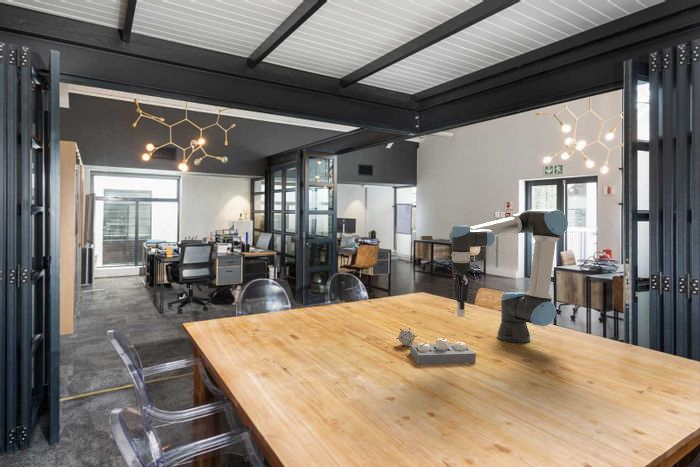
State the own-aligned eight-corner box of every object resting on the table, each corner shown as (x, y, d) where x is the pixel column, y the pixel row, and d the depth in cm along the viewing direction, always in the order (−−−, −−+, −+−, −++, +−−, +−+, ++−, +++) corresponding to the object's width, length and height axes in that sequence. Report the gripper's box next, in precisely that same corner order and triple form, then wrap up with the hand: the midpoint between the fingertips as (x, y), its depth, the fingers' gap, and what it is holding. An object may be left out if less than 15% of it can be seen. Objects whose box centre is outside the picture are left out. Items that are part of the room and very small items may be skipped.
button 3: (427, 354, 173) (427, 342, 173) (431, 358, 168) (431, 346, 168) (416, 354, 173) (416, 342, 173) (419, 358, 168) (419, 346, 168)
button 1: (463, 352, 175) (463, 341, 175) (467, 356, 170) (467, 344, 170) (452, 353, 175) (452, 341, 174) (456, 357, 170) (456, 345, 169)
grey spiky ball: (409, 354, 187) (415, 341, 181) (392, 347, 188) (398, 333, 182) (414, 340, 194) (420, 327, 188) (397, 333, 195) (403, 320, 189)
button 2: (445, 349, 174) (445, 337, 174) (449, 353, 169) (449, 341, 169) (434, 349, 174) (434, 338, 174) (438, 353, 169) (438, 341, 169)
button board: (462, 351, 180) (462, 342, 180) (475, 362, 166) (475, 353, 166) (410, 353, 177) (410, 344, 177) (418, 364, 163) (418, 355, 163)
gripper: (447, 260, 177) (447, 313, 178) (458, 263, 164) (458, 320, 165) (463, 259, 178) (463, 312, 179) (475, 263, 165) (475, 319, 166)
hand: (460, 316), depth 172 cm, fingers closed
